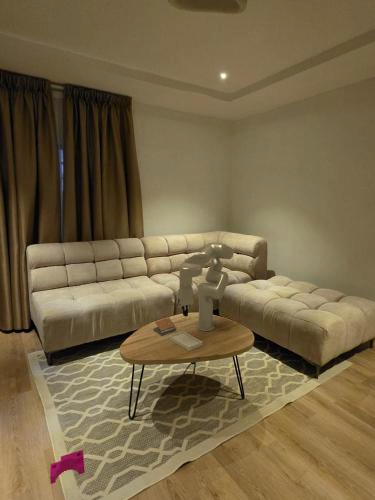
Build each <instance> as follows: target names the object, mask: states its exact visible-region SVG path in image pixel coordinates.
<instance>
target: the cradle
mask: <svg viewBox="0 0 375 500" xmlns="http://www.w3.org/2000/svg"><path fill="white" fill-rule="evenodd" d="M168 340H170V341H171V342H173V343H175V344H176V345H178V346H180V347H181V348H183V349H185V350H187V351H188V352H189V351H192V350H194V349H197V348H200V347H201V346H203V343H204V342H203V341H202V340H200V339H198V338H196V336H195V337H194V336H193V335H192V334H189V333H188V332H186V331H184V330H182V331H179V332H175V333H173V334H170V335H168Z"/></svg>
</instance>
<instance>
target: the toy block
mask: <svg viewBox="0 0 375 500" xmlns="http://www.w3.org/2000/svg"><path fill="white" fill-rule="evenodd" d="M84 456H85V455H84V449H80V450H78V451H75V452H71V453H67V454H64V455H61V456H60V461H56V462H53V463H50V468H49V469H50V470H49V472H50V473H49V474H50V475H49V476H50V477H49V479H50V480H49V481H50V485H52V484H56V481H57V479H58V478H59V477H60V476H61V474H64V471H65V472H67V471H75V472H77V474H78V475H83V474H85V473H86V472H85V471H86V470H85V469H86V468H85V457H84Z"/></svg>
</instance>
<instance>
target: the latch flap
mask: <svg viewBox="0 0 375 500" xmlns="http://www.w3.org/2000/svg"><path fill="white" fill-rule="evenodd" d="M154 324H155V325H156V326H157V327H158V328H159V329H160V331H161V332H162V331H165V330H168V329H171V328H174V327H176V325H175V323H173V321H172V320H171V317H165V318H163V319H158V320H156V321H155V322H154Z"/></svg>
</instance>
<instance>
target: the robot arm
mask: <svg viewBox="0 0 375 500" xmlns="http://www.w3.org/2000/svg"><path fill="white" fill-rule="evenodd" d="M233 257H234V249H233V248H232V247H231V246H229V245H227V244H225V243H223V242H222V243H220V242H219V243H218V242H208V243H207V244H206V245H205V246H204V247H203V248H202V249H201V250H200V251H199V252H198V253H195V254H192V255H190V256H189V257H187V258H185V259H184V260H183V261H182V262H181V264H180V265H179V288H178V289H177V295H176V305H178V306H177V308H178V309H181V310H182V316H184V317H188V316H189V310H190V307H191V306H193V304H194V298H195V297H194V295H195V294H194V289H193V285H194V283H193V278H196V277H200V276H201V275H202V273H203V268H202V265H203V264H204V265H205V264H208V263H209V262H210V266H209V268H208V270H207V272H206V275H205V282H201V283H200V284H199V285H198V286H197V293H198V294H197V295H198V323H197V324H196V327H195V328H196V329H197V330H199V331H201V332H211V331H213V330H215V328H216V327H215V324H216V323H218V320H217V319H214V318H213V315H214V313H213V312H214V309H213V308H214V304H213V300H221V299H222V297H223V295H224V293H225V291H226V288H227V285H228V283H229V279H230V278H229V274H228V273H227V272H226V271H222V270H223V262H221V260H220V259H222V260H231V259H232V258H233Z"/></svg>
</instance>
